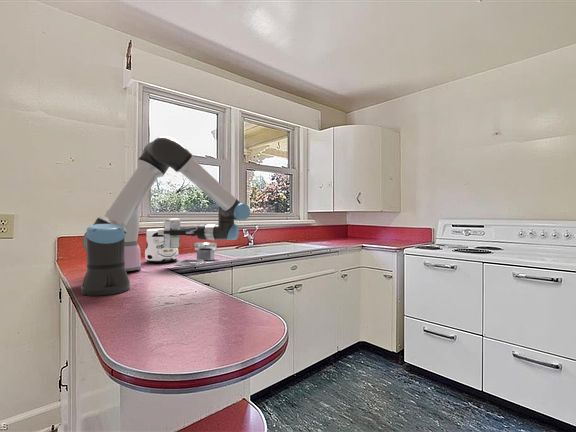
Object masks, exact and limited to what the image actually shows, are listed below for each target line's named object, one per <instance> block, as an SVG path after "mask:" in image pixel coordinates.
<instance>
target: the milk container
mask: <svg viewBox="0 0 576 432" xmlns="http://www.w3.org/2000/svg"><path fill="white" fill-rule="evenodd" d="M158 229H159V228H148V229H146V233H145V234H146V247H145V250H144V256H145V257H144V258H145V260H146V261H147V262H148V263H154V264H155V263H157V264H158V263H159V264H160V263H161V264H162V263H169V262H174V261H176V260H178V259H179V258H178V257H179V248H164V235H158Z"/></svg>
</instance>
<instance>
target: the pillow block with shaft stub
mask: <svg viewBox="0 0 576 432" xmlns="http://www.w3.org/2000/svg"><path fill="white" fill-rule="evenodd" d="M193 249H194V250H196V260H212V261H214V260H215V251H216V250H217V249H218V245H217V242H195V243H194V244H193ZM213 259H214V260H213Z"/></svg>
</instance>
